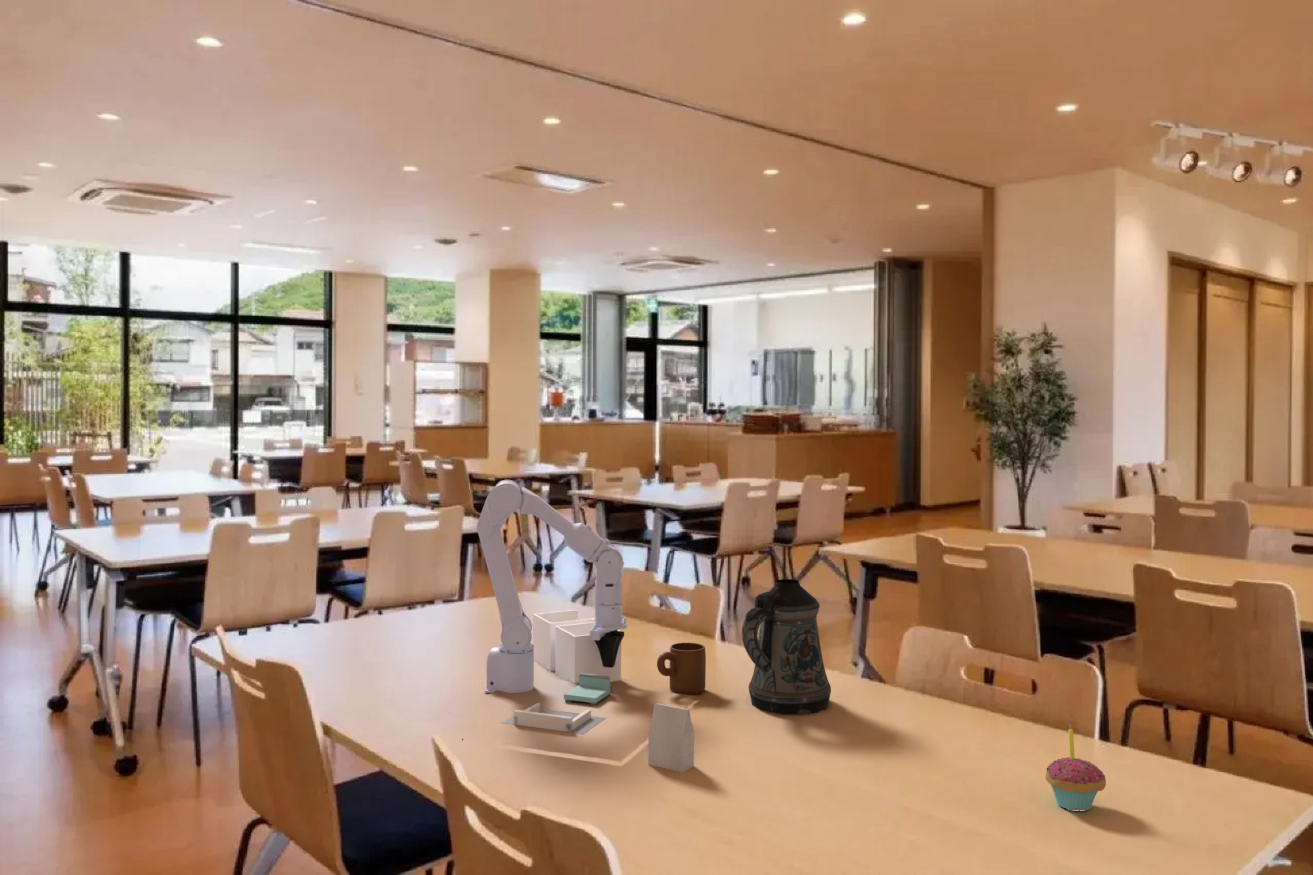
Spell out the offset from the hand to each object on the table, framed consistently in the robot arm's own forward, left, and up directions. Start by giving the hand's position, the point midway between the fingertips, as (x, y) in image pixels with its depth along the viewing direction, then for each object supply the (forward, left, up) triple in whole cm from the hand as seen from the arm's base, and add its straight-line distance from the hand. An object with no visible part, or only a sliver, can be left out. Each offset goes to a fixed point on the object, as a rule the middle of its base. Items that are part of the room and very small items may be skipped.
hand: (608, 666), depth 216 cm
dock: (0, -25, -5) cm, 26 cm away
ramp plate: (0, -18, -4) cm, 18 cm away
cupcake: (+91, -30, -5) cm, 96 cm away
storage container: (-13, +11, -5) cm, 18 cm away
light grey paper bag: (+28, -37, -5) cm, 47 cm away
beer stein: (+38, +3, -5) cm, 38 cm away
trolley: (0, -10, -5) cm, 11 cm away
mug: (+15, +3, -5) cm, 16 cm away
